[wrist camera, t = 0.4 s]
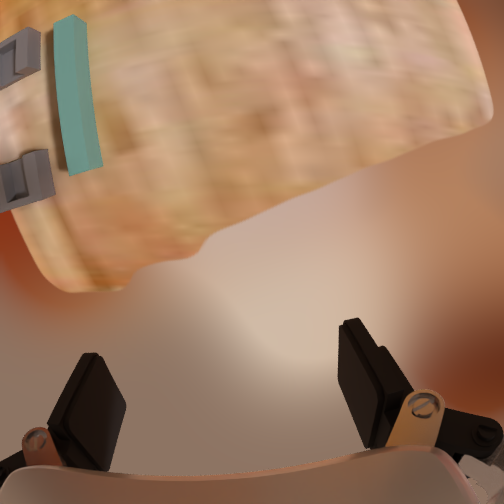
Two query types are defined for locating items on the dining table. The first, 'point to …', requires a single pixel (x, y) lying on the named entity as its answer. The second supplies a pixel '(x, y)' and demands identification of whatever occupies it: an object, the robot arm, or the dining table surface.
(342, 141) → the dining table surface
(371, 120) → the dining table surface
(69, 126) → the slat
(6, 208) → the end caps
